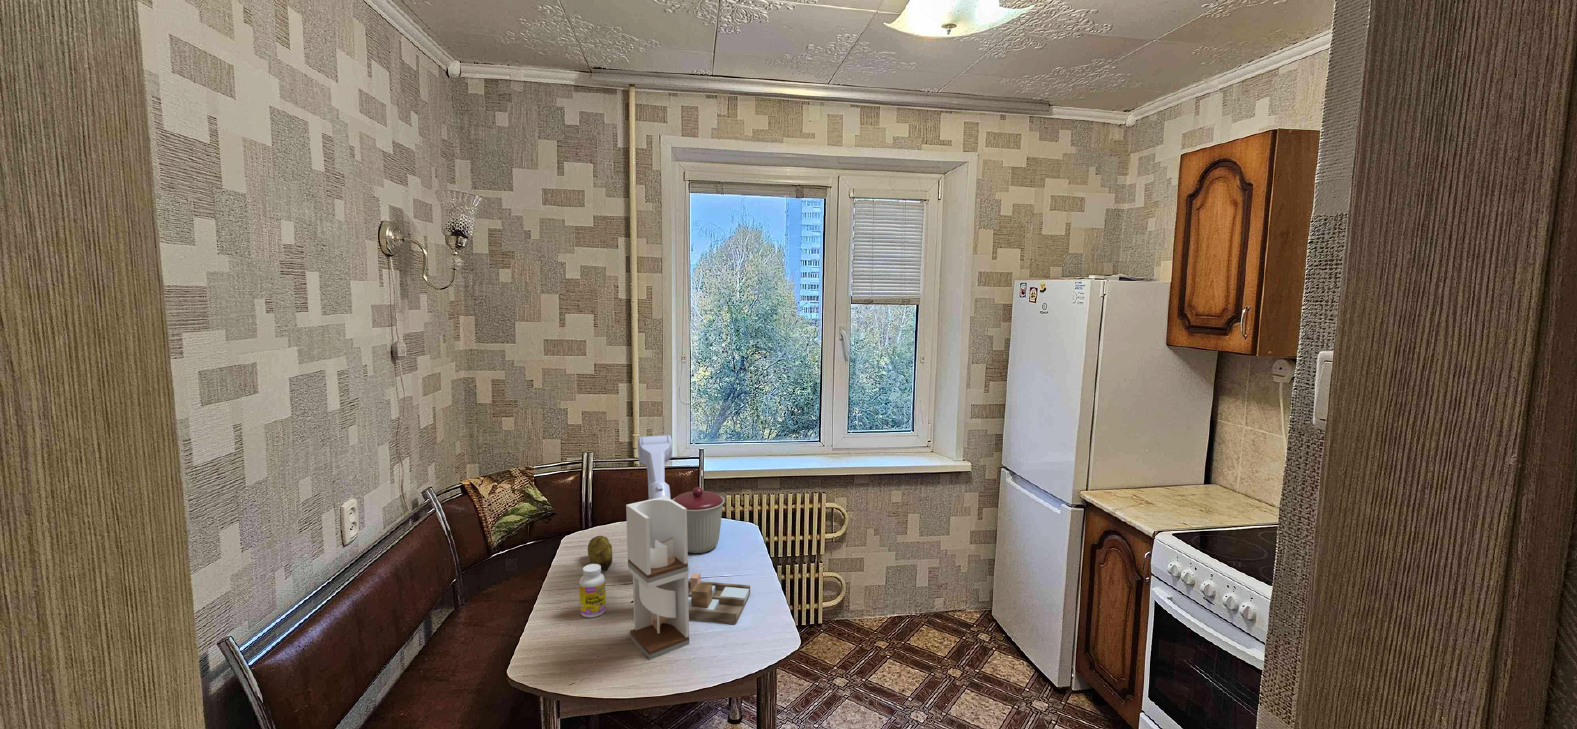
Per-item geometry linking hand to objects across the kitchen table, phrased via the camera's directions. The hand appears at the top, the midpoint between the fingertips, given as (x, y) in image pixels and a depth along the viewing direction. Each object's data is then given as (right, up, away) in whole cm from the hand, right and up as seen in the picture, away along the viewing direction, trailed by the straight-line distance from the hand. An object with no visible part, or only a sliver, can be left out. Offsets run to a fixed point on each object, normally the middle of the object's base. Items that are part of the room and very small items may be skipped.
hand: (663, 596), depth 170 cm
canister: (+4, +1, +41) cm, 41 cm away
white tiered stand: (+2, -6, -15) cm, 16 cm away
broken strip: (+15, -3, +5) cm, 16 cm away
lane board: (+11, -3, +2) cm, 12 cm away
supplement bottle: (-19, -4, -2) cm, 19 cm away
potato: (-26, 0, +28) cm, 38 cm away
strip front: (+7, -2, -1) cm, 7 cm away
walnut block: (+11, -1, -2) cm, 11 cm away
